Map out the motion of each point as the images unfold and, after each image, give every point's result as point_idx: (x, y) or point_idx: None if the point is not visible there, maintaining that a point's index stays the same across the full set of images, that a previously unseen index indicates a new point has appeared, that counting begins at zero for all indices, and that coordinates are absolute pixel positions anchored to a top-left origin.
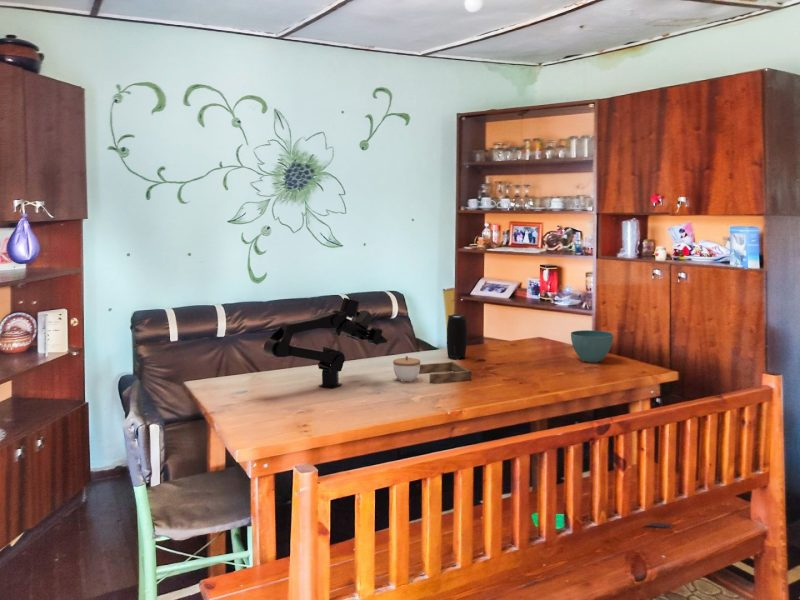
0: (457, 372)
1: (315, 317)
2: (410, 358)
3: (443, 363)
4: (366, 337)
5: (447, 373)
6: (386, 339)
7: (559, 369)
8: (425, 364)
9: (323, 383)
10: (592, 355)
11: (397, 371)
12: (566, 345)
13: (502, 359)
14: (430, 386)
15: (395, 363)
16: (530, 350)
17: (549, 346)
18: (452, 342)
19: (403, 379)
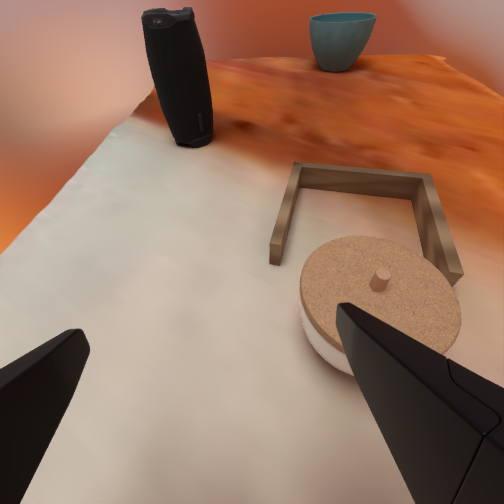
0: (437, 200)
1: None
2: (342, 255)
3: (297, 180)
4: (24, 446)
5: (447, 224)
6: (360, 309)
7: (371, 93)
8: (283, 215)
9: None
10: (357, 56)
11: None
12: (239, 60)
13: (260, 108)
14: (493, 316)
15: None
16: (233, 79)
17: (230, 66)
18: (192, 104)
19: None
